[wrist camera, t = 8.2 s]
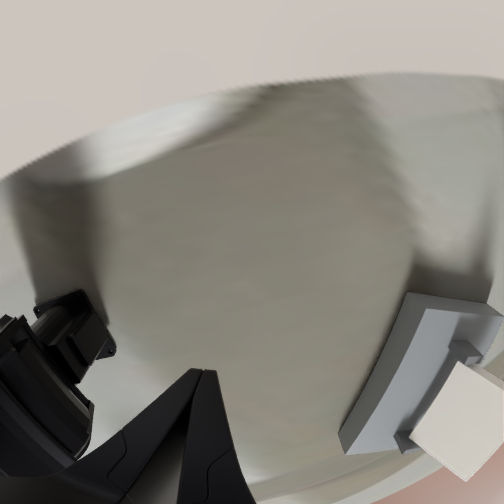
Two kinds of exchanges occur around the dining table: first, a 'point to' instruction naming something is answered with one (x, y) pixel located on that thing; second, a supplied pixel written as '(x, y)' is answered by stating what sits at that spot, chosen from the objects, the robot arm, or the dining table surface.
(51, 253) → the dining table surface
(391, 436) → the base
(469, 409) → the panel
